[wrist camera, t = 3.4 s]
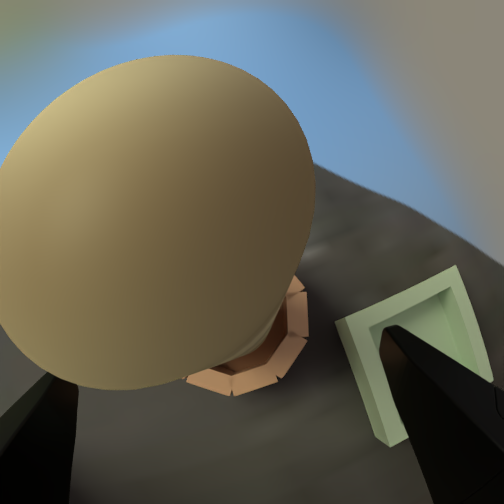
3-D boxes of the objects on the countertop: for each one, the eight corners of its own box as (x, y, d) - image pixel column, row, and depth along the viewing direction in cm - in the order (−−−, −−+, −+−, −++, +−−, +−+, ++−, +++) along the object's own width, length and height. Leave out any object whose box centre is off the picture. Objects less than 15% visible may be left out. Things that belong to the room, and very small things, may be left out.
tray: (471, 379, 17) (493, 380, 14) (375, 436, 16) (390, 447, 14) (436, 274, 19) (455, 265, 17) (334, 321, 19) (344, 317, 16)
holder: (319, 358, 18) (332, 360, 15) (194, 400, 17) (180, 411, 14) (275, 244, 20) (278, 222, 17) (157, 285, 20) (137, 271, 16)
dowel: (279, 342, 18) (385, 303, 3) (213, 365, 18) (3, 415, 2) (256, 278, 19) (238, 27, 4) (192, 300, 19) (-6, 131, 3)
